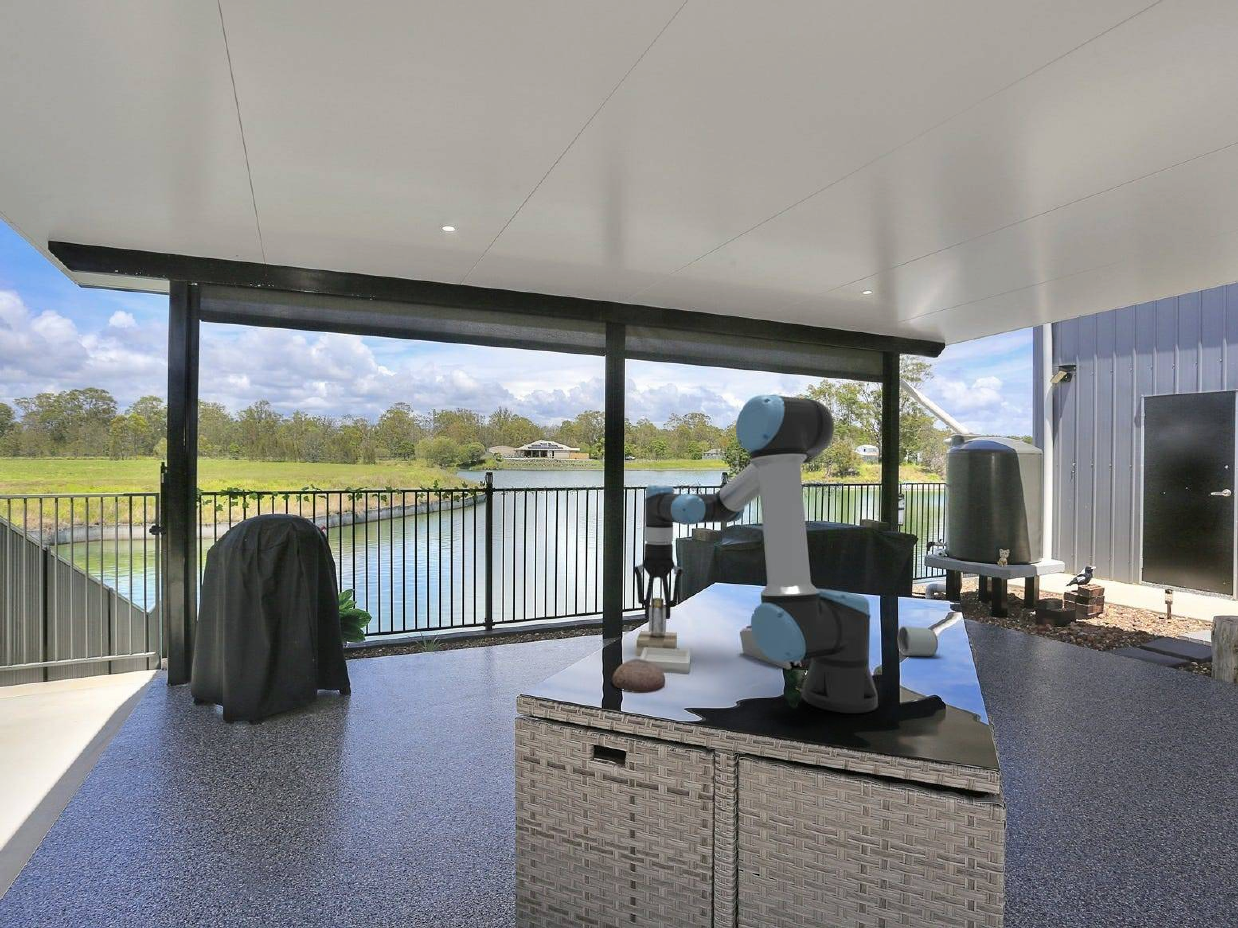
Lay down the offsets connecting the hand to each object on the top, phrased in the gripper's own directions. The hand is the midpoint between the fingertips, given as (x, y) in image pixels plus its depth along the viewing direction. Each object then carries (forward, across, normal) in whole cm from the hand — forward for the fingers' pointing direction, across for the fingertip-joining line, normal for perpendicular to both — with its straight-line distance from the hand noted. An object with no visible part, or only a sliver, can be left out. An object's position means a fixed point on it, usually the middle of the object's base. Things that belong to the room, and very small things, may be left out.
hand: (657, 630), depth 175 cm
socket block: (+6, 0, 0) cm, 6 cm away
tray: (+6, -3, +12) cm, 14 cm away
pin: (+6, 0, 0) cm, 6 cm away
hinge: (+6, -29, +3) cm, 30 cm away
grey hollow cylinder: (+6, -69, -11) cm, 70 cm away
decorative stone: (+6, +2, +28) cm, 28 cm away
